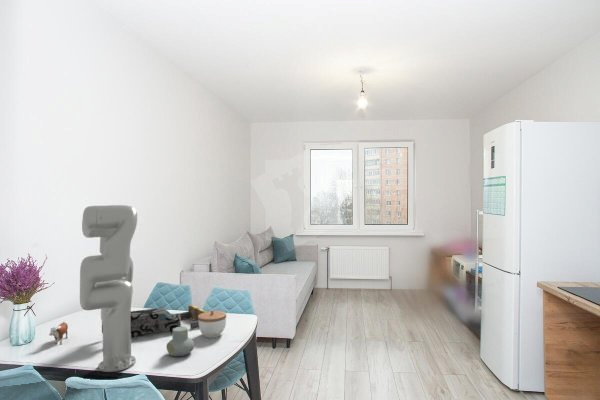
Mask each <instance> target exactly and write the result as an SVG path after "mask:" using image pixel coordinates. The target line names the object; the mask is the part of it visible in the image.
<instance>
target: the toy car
mask: <svg viewBox="0 0 600 400" xmlns="http://www.w3.org/2000/svg"><path fill="white" fill-rule="evenodd" d="M181 322H182V320H181V317H180V314H179V313H171V312H169V311H168V310H167V309H166V308H165V307H164V308H163V307H161V308H147V309H139V310H131V339H132V338H134V339H135V338H140V337H141V336H142V335H143V334H149V333H157V332H164V331H169V333H170V334H172V330H173V329H174V328H176V327H182V323H181Z"/></svg>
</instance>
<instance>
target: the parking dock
mask: <svg viewBox="0 0 600 400" xmlns="http://www.w3.org/2000/svg"><path fill="white" fill-rule="evenodd" d="M204 312H207V311H206V310H204V309H202V308H200V307H198V306H195V305H193V304H189V305H188V311H183V312H179V313H178V314H180V317H181V321H183V320H185V319H191V318H192V319H191V320H193V319H194V320H193V321H190V329H191V330H195V329H199V324H198V315H199V314H201V313H204Z"/></svg>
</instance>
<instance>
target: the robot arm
mask: <svg viewBox="0 0 600 400" xmlns="http://www.w3.org/2000/svg"><path fill="white" fill-rule="evenodd" d="M137 224H138V212H137V210H136V208H135V207H133V206H131V205H126V204H125V205H124V204H123V205H122V204H121V205H120V204H116V205H115V204H110V205H89V206H87V207H85V208H84V210H83V213H82V219H81V229H82V230H81V231H82V234H83V237H85V238H91V239H92V238H99V253H100V254H97V255H89V256H86V257H84V258H83V259H82V261H81V263H80V269H79V270H80V271H79V304H80V305H79V306H80V307H81V309H83V310H84V311H94V310H100V319H101V333H102V361H100V362H99V363H98V370H99V371H100V372H106V373H113V372H115V373H116V372H120V371H124V370H126V369H129V368H131V367H132V366H134V365H135V364H136V361H137V358H136V357H135V356H133V355H132V337H131V311H132V310H131V309H132V301H133V294H134V289H133V284H132V283H133V278H134V262H133V260H132V257H131V243H132V239H133V237H134V235H135V232H136V230H137Z"/></svg>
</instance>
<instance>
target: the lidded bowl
mask: <svg viewBox="0 0 600 400" xmlns="http://www.w3.org/2000/svg"><path fill="white" fill-rule="evenodd" d="M226 323H227V313H226V312H225V311H222V310H221V311H220V310H213V309H211V310H210V311H206V312H204V313H201V314H199V315H198V324H199V328H198V329H199V331H200V333H201V334H202V335H203V336H204V337H205V338H207V339H208V338H210V339H211V338H217V337H220V336H221V334H222V333H223V331H225V328H226Z"/></svg>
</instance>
